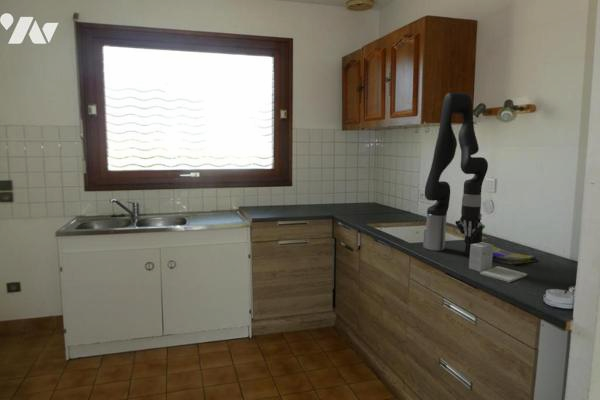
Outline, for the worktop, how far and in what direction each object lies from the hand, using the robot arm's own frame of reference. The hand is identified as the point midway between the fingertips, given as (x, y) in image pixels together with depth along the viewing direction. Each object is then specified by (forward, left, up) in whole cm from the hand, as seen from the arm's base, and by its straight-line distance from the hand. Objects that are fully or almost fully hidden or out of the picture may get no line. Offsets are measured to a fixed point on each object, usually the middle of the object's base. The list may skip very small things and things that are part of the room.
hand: (468, 244), depth 184 cm
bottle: (-7, +16, -9) cm, 20 cm away
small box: (+6, 0, -9) cm, 11 cm away
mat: (+16, 0, -9) cm, 19 cm away
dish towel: (+2, +27, -10) cm, 29 cm away
